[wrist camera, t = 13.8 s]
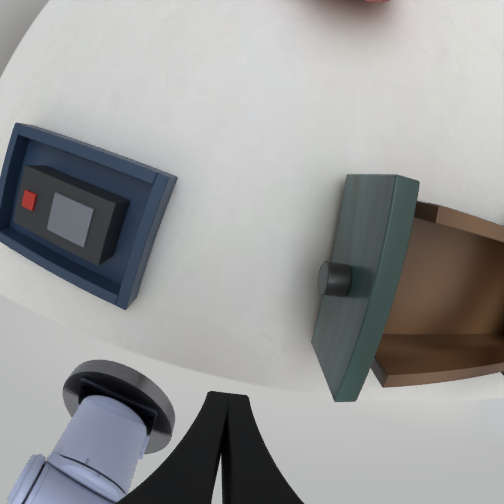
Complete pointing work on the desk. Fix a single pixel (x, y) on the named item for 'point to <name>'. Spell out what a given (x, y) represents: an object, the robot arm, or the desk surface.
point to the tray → (101, 175)
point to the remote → (70, 212)
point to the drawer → (408, 291)
